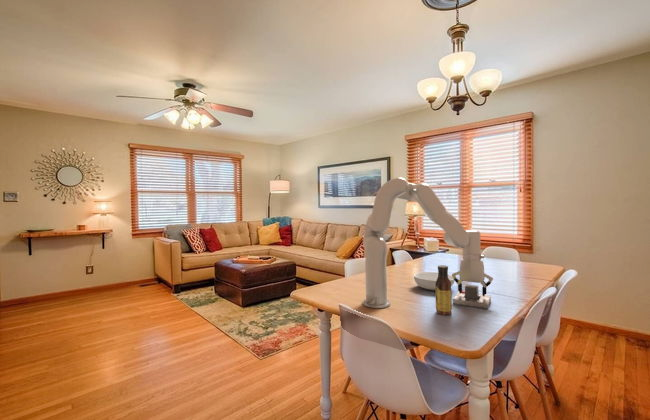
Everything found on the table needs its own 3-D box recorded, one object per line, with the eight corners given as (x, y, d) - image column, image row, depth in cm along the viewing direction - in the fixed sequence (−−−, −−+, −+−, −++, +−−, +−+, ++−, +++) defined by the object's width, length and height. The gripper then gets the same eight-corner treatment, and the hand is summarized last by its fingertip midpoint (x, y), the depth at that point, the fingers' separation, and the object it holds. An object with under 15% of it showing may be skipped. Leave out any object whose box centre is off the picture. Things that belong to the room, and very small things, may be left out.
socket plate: (487, 309, 132) (487, 302, 132) (452, 304, 139) (452, 297, 139) (490, 300, 143) (490, 294, 143) (458, 296, 151) (458, 290, 151)
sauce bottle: (438, 309, 133) (438, 263, 132) (453, 312, 129) (453, 265, 129) (433, 313, 128) (432, 266, 127) (448, 317, 124) (448, 267, 123)
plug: (477, 303, 138) (477, 288, 138) (465, 302, 141) (464, 286, 141) (478, 300, 142) (478, 285, 142) (466, 299, 145) (466, 284, 145)
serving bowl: (448, 296, 152) (448, 282, 152) (407, 290, 164) (407, 277, 164) (459, 287, 168) (459, 274, 168) (421, 282, 181) (421, 270, 181)
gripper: (493, 257, 139) (494, 294, 140) (453, 254, 149) (453, 289, 149) (492, 259, 133) (492, 299, 133) (449, 256, 143) (450, 293, 143)
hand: (472, 294), depth 141 cm, fingers open, 9 cm apart
